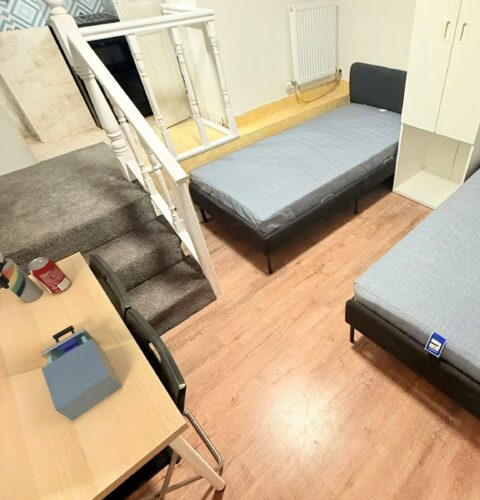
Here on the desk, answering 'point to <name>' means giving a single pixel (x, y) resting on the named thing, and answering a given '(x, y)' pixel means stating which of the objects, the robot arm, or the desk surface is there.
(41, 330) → the desk surface
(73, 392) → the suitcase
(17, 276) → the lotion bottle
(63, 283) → the soda can
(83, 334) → the drawer
